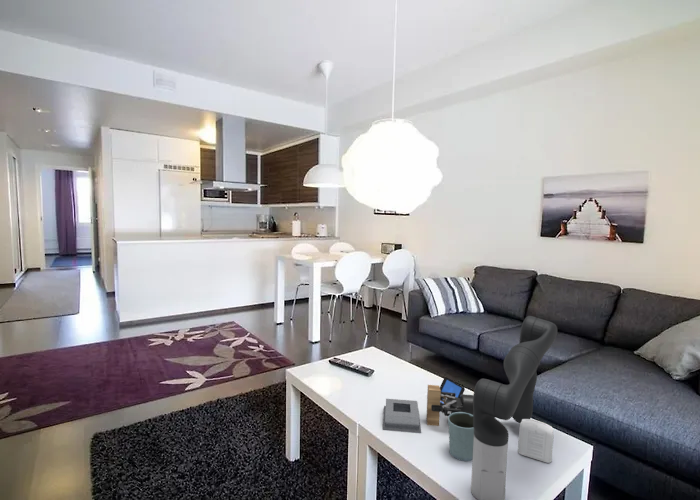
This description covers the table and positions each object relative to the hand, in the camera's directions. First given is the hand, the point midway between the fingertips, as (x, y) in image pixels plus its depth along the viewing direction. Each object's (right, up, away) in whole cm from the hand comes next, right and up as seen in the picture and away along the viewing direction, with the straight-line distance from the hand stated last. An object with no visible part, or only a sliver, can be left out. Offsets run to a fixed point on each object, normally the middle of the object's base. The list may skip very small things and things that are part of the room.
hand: (430, 402), depth 144 cm
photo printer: (+31, -11, -19) cm, 38 cm away
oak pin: (+1, -8, +1) cm, 8 cm away
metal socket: (-11, -8, +2) cm, 14 cm away
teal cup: (+7, -10, -18) cm, 22 cm away
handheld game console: (+11, -7, +19) cm, 23 cm away
